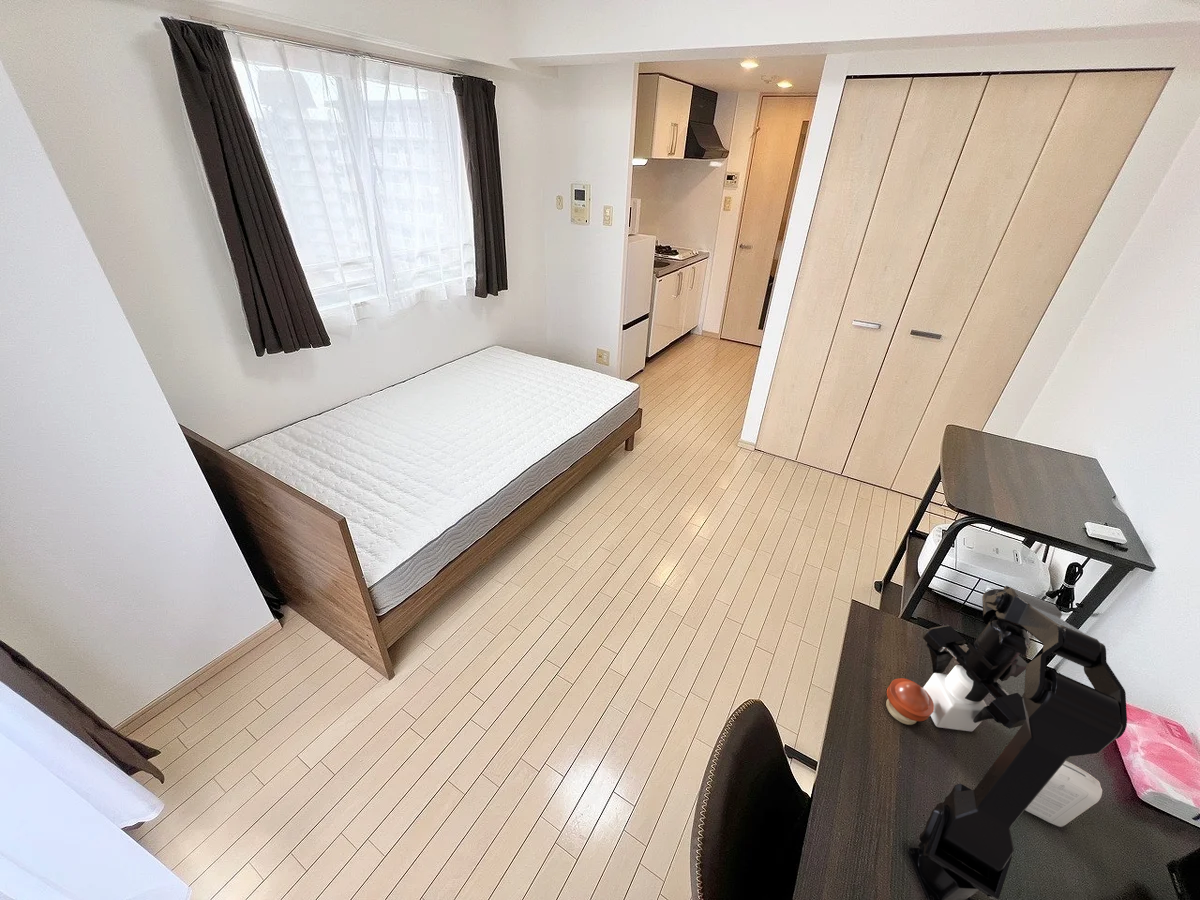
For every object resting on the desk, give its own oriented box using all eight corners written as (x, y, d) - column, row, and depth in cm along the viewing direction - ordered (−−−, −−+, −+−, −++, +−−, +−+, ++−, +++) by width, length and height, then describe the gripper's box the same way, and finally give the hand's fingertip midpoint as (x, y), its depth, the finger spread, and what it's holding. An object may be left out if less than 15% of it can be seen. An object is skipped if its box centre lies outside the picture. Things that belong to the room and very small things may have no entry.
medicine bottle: (953, 697, 98) (982, 661, 92) (973, 732, 92) (1005, 696, 86) (918, 692, 99) (944, 656, 92) (935, 727, 93) (965, 691, 86)
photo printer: (1059, 807, 82) (1105, 772, 76) (1065, 833, 79) (1113, 798, 73) (989, 772, 86) (1026, 736, 80) (992, 795, 83) (1031, 760, 77)
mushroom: (931, 731, 92) (948, 710, 88) (892, 729, 92) (908, 707, 88) (910, 693, 98) (925, 672, 95) (873, 691, 98) (887, 669, 94)
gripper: (1084, 688, 79) (1032, 738, 88) (984, 600, 95) (948, 649, 103) (1034, 701, 77) (985, 751, 85) (939, 608, 92) (905, 658, 100)
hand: (955, 698), depth 93 cm, fingers open, 9 cm apart
